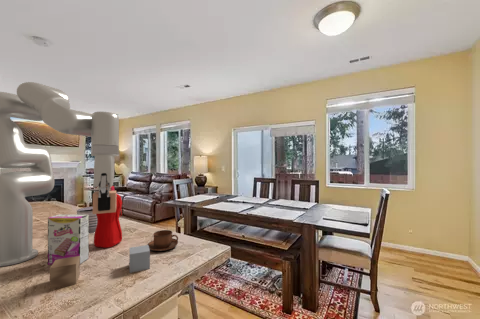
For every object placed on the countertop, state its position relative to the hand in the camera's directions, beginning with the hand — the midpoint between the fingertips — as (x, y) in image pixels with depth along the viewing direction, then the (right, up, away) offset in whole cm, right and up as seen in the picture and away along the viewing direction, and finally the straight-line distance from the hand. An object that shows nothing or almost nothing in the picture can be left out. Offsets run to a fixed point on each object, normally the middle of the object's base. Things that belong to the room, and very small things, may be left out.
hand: (105, 207), depth 70 cm
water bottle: (-12, -21, +24) cm, 34 cm away
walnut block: (-9, -21, -5) cm, 23 cm away
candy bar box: (-18, -21, +8) cm, 29 cm away
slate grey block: (+9, -21, +5) cm, 23 cm away
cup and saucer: (+11, -21, +21) cm, 32 cm away
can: (-33, -21, +42) cm, 58 cm away
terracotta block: (0, -1, 0) cm, 1 cm away
